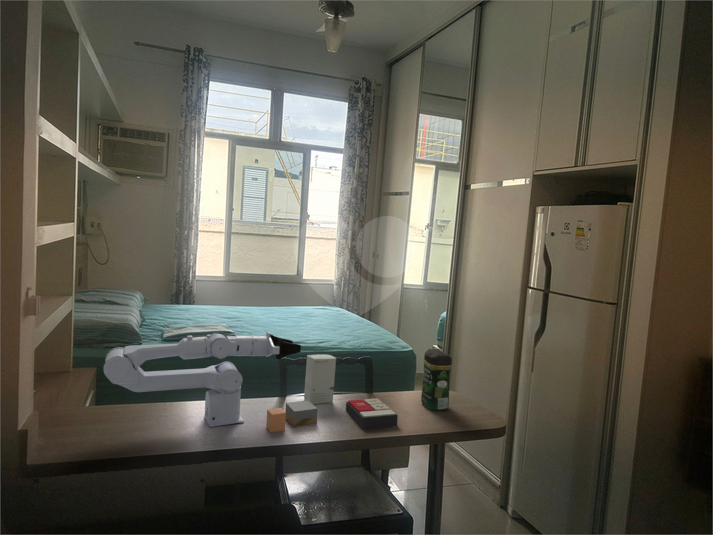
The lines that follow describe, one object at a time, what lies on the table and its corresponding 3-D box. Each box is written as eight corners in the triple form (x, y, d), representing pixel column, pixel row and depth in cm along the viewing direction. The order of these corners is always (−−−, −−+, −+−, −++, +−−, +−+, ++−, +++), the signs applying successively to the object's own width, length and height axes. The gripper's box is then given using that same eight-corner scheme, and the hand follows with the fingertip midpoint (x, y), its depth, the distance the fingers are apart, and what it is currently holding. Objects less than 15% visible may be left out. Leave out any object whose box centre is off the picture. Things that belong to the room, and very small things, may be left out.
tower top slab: (293, 420, 132) (294, 411, 132) (285, 411, 139) (285, 402, 138) (316, 416, 136) (317, 408, 136) (307, 408, 142) (308, 400, 142)
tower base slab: (293, 428, 133) (294, 420, 133) (285, 419, 139) (285, 411, 139) (316, 425, 136) (317, 416, 136) (307, 416, 142) (307, 408, 142)
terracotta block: (270, 432, 128) (271, 414, 128) (266, 426, 132) (267, 409, 132) (284, 430, 130) (285, 412, 130) (280, 424, 134) (280, 407, 134)
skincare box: (310, 405, 150) (312, 359, 149) (303, 399, 155) (305, 354, 154) (334, 402, 154) (336, 357, 153) (326, 396, 159) (329, 352, 158)
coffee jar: (417, 401, 160) (421, 347, 158) (438, 400, 162) (443, 347, 160) (429, 412, 150) (433, 354, 149) (451, 411, 152) (456, 354, 151)
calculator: (378, 397, 152) (398, 412, 138) (377, 410, 152) (397, 427, 138) (345, 399, 148) (363, 415, 134) (345, 413, 148) (362, 430, 134)
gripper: (258, 336, 130) (305, 336, 135) (246, 328, 143) (289, 329, 148) (256, 361, 129) (303, 361, 135) (244, 351, 143) (288, 352, 148)
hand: (296, 346), depth 142 cm, fingers open, 7 cm apart
